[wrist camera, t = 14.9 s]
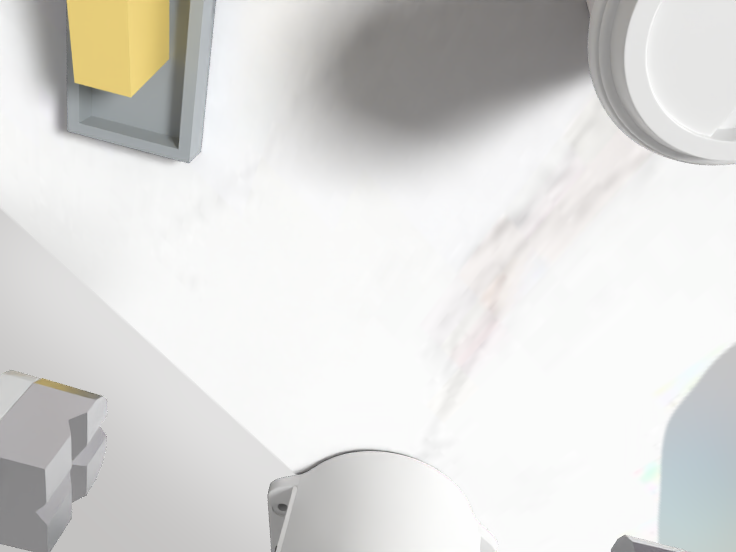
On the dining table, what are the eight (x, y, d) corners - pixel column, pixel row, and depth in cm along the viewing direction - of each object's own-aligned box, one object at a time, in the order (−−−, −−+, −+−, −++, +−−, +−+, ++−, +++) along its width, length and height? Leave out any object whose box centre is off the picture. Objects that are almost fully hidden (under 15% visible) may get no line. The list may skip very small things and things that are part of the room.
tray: (200, 151, 42) (189, 163, 41) (84, 120, 42) (67, 131, 41) (227, -113, 35) (213, -112, 33) (85, -149, 35) (65, -150, 33)
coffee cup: (613, 112, 38) (681, 233, 25) (517, -40, 35) (538, 9, 22) (792, -1, 34) (983, 73, 21) (702, -183, 31) (861, -226, 18)
